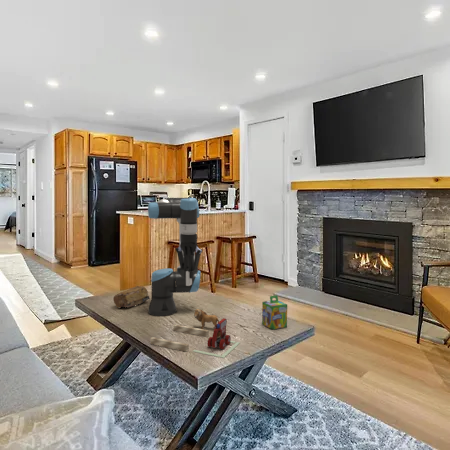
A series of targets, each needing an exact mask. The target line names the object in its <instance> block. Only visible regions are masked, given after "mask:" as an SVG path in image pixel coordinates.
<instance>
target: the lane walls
mask: <svg viewBox="0 0 450 450" xmlns="http://www.w3.org/2000/svg"><path fill="white" fill-rule="evenodd" d="M172 327H173V329H172V330H174V332H178V333H179V332H180V333H183V334H185V333H186V334H189V335H196V336H201V337H206V338H207V337H210V335H209V334H210V333H209V331H210V330H209V329H204V328H203V329H201V328H197V327H191V326H185V325H181V324H180V325H179V324H173V326H172ZM153 344H154V345H155V346H158V345H159V346H158V347H163V348H168V349H172V350H175V351H176V350H177V351H182V352H188V351H189V350H190V349H189V348H190V345H189V343H183V342H178V341H174V340H169V339H163V338H159V337H154V336H152V337H150V345H153ZM154 345H153V346H154Z"/></svg>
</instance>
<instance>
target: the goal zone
mask: <svg viewBox="0 0 450 450" xmlns="http://www.w3.org/2000/svg"><path fill="white" fill-rule="evenodd" d="M231 343H232V346H231V347H229V348H228V349H227V350H226V351H225V352H223V354H217V353H212V352H207V351H203V350H197V349H193V350H192V352H193V353H197V354H203V355H207V356H212V357H217V358H220V359H221V358H222V359H224V358H226V357H227V356H228V355H229V354H230V353H231V352H232V351H233V350H235V348H237V347H238V346H239V345H240V344H241V342H240V341H235V340H230V343H229V344H231Z"/></svg>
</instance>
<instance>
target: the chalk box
mask: <svg viewBox="0 0 450 450" xmlns="http://www.w3.org/2000/svg"><path fill="white" fill-rule="evenodd" d="M269 299H270V300H264V301H262V308H261V309H262V311H261V312H262V314H261V317H262V319H261V320H262V321H261V324H262V325H263V326H265V327H267V328H268V329H270V330H278V329H283V328H287V327H288V304H287V303H284V302H283V301H280V300H279V297H278V295H277V294H275V295H270V296H269ZM273 299H274V300H273Z"/></svg>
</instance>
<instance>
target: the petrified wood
mask: <svg viewBox="0 0 450 450" xmlns="http://www.w3.org/2000/svg"><path fill="white" fill-rule="evenodd" d="M147 300H150V296H149V291H148V289H147V288H146V287H145V286H143V285H142V286H138V285H137V286H133V287H130V288H128V289H125V290H123V291H121V292H120V291H119V292H117V294H115V295H114V296H113V303H114V305H115V307H116V306H117V308H118V307H120V308H119V309H122V308H124V307H125V309H126V307H127V308H131V307H136V306H135V305H137V306H139V305H141V304H143V303H145V302H146V301H147ZM138 304H139V305H138ZM121 307H122V308H121Z"/></svg>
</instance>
